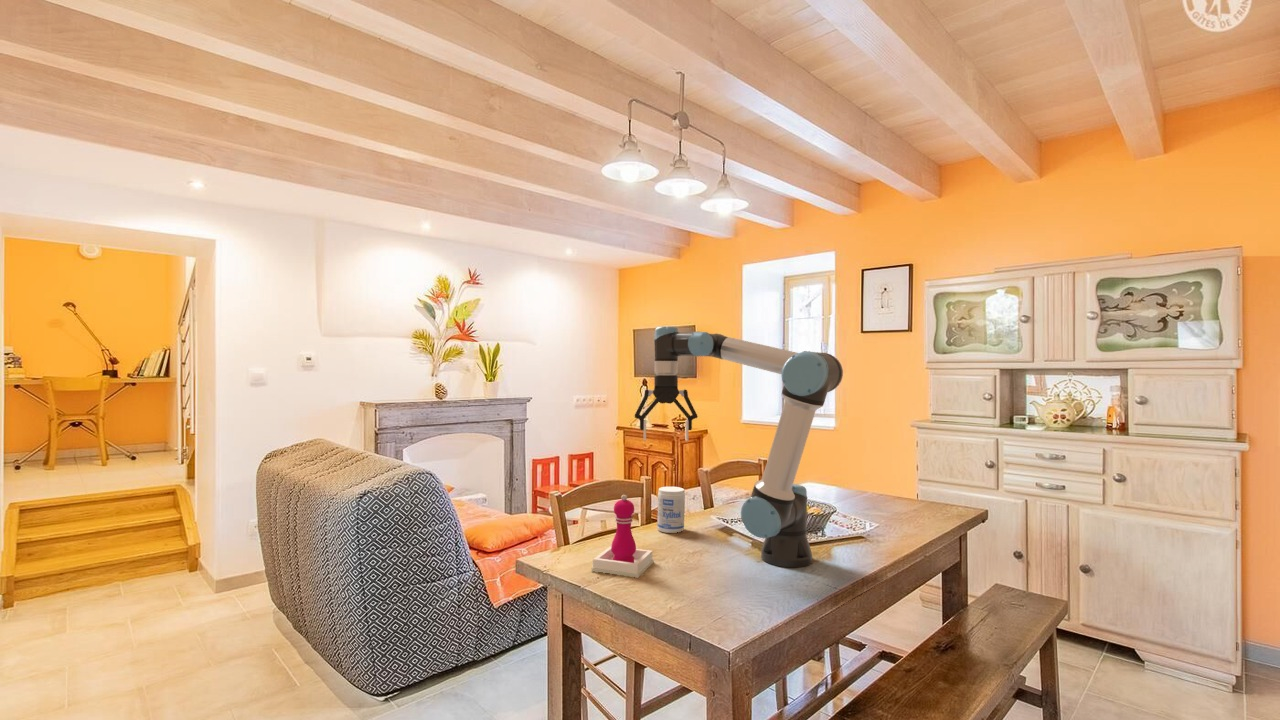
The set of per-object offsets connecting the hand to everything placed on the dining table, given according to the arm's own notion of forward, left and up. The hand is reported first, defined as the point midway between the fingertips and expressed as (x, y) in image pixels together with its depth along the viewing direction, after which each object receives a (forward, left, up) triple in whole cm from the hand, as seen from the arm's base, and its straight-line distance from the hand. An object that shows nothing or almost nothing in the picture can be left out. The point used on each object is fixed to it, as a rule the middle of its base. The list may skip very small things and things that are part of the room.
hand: (665, 440), depth 195 cm
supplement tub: (+4, -20, -35) cm, 40 cm away
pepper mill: (+6, +22, -34) cm, 41 cm away
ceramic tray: (+6, +22, -35) cm, 41 cm away
